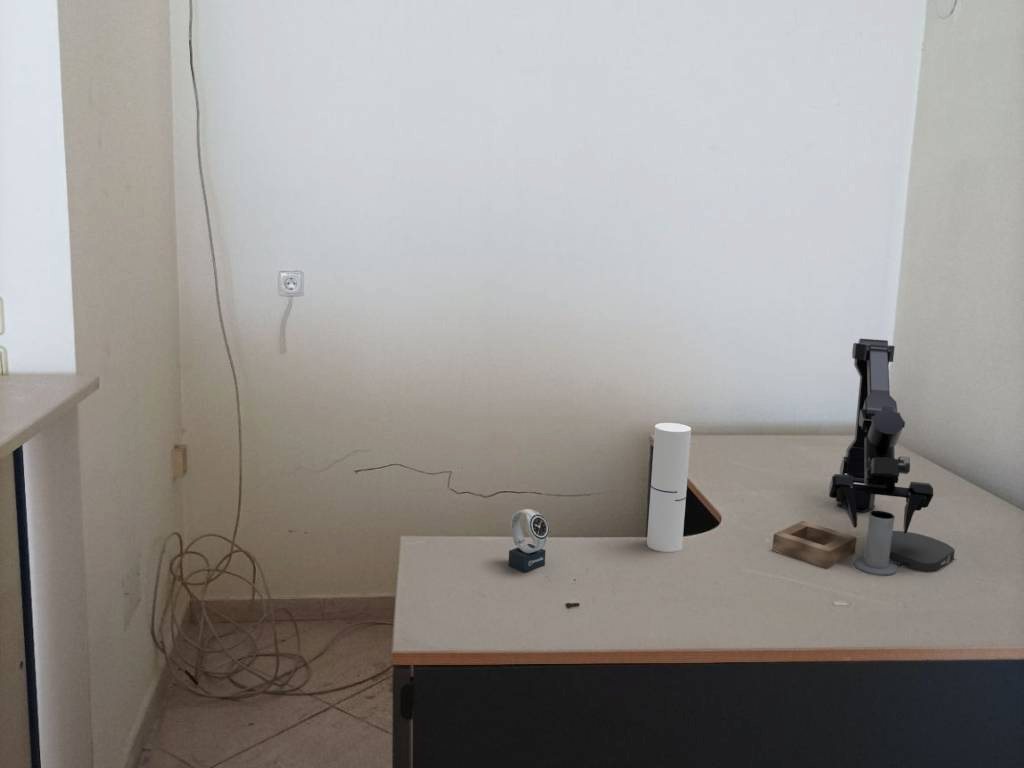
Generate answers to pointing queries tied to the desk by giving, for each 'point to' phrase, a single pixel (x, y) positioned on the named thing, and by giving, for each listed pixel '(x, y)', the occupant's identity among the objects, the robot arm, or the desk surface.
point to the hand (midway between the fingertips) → (880, 529)
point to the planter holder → (814, 544)
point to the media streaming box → (919, 552)
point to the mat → (875, 571)
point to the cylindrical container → (668, 486)
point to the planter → (879, 539)
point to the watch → (528, 554)
